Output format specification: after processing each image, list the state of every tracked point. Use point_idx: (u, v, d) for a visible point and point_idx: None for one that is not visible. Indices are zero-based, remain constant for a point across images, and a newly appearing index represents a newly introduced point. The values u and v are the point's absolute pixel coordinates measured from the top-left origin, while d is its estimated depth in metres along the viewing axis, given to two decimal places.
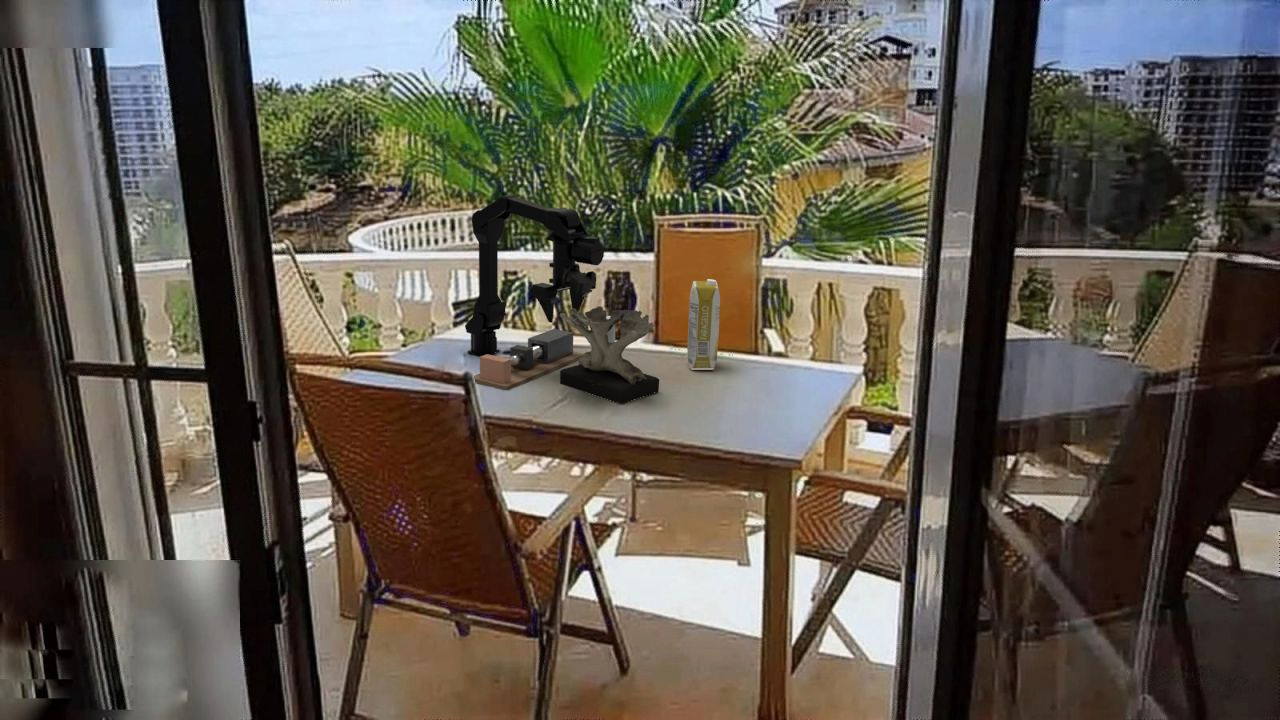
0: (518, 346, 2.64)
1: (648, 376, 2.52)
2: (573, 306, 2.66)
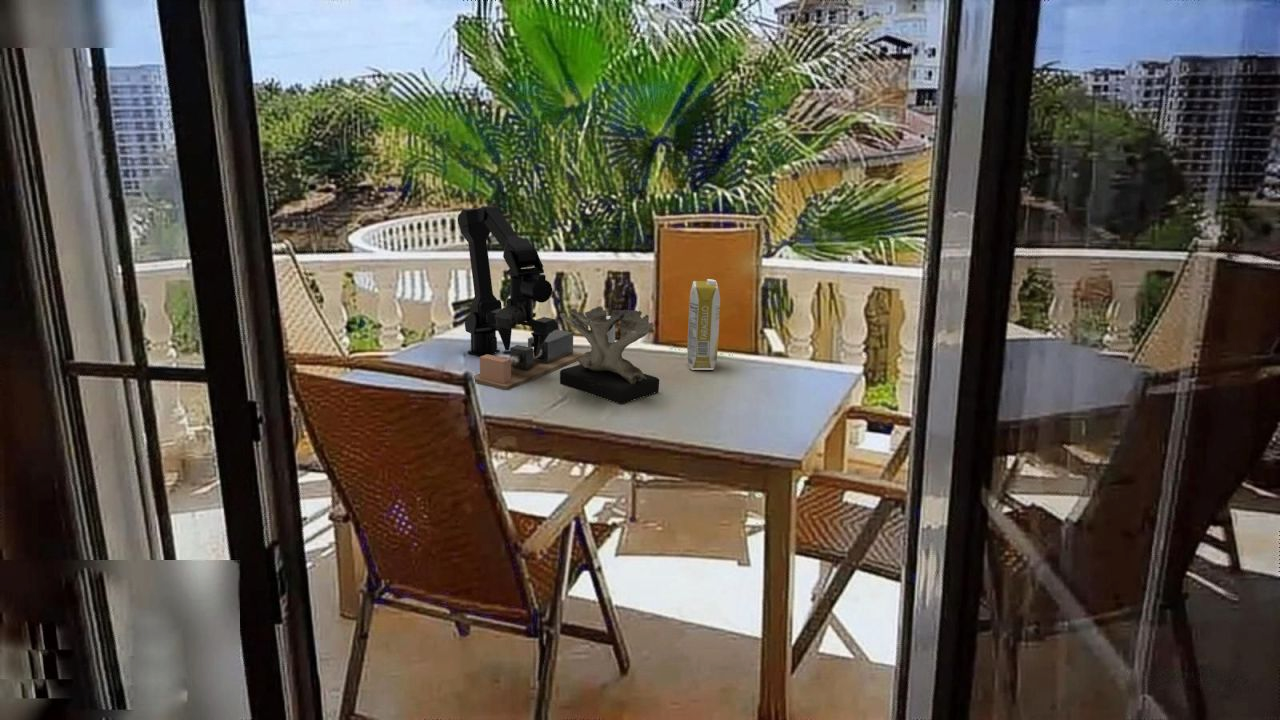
0: (518, 346, 2.64)
1: (648, 376, 2.52)
2: None
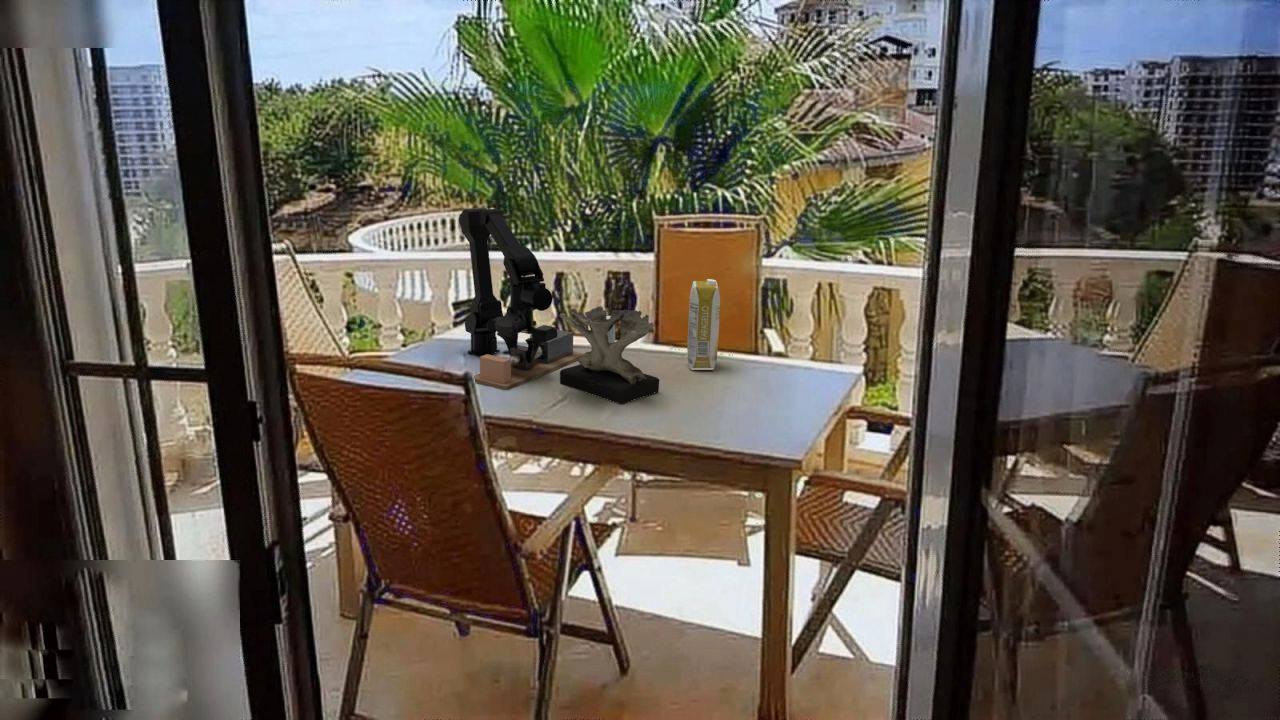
0: (518, 346, 2.64)
1: (648, 376, 2.52)
2: None
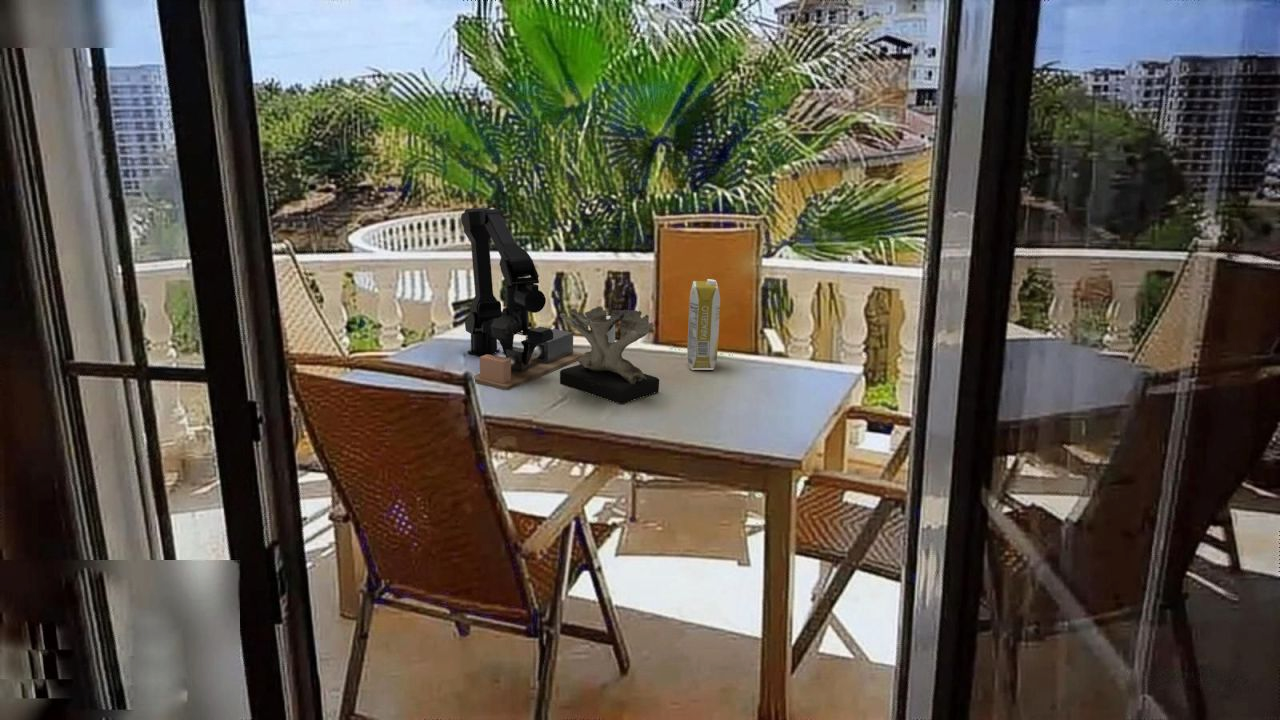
0: (514, 348, 2.63)
1: (648, 376, 2.52)
2: None
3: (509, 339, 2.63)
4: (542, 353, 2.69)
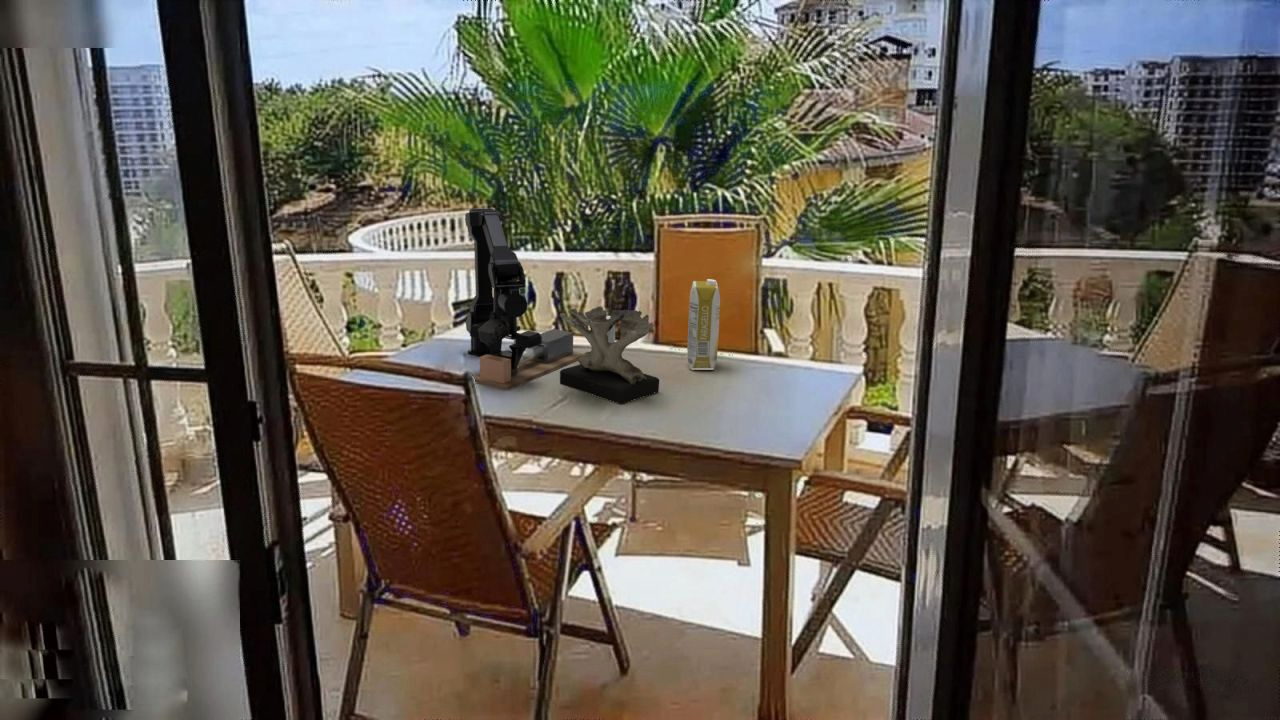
0: (502, 352, 2.59)
1: (648, 376, 2.52)
2: None
3: (497, 343, 2.59)
4: (531, 357, 2.65)
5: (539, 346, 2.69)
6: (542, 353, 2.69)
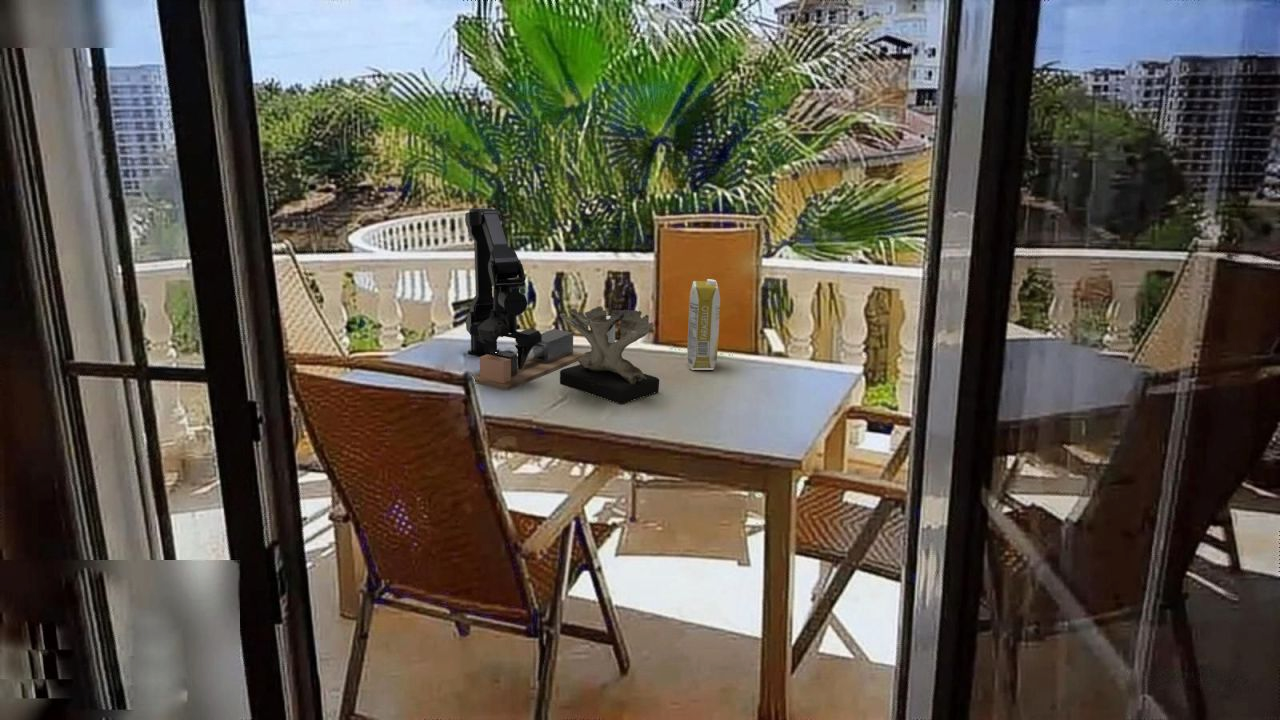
0: (502, 352, 2.58)
1: (648, 376, 2.52)
2: None
3: None
4: (531, 357, 2.65)
5: (539, 346, 2.69)
6: (542, 353, 2.69)
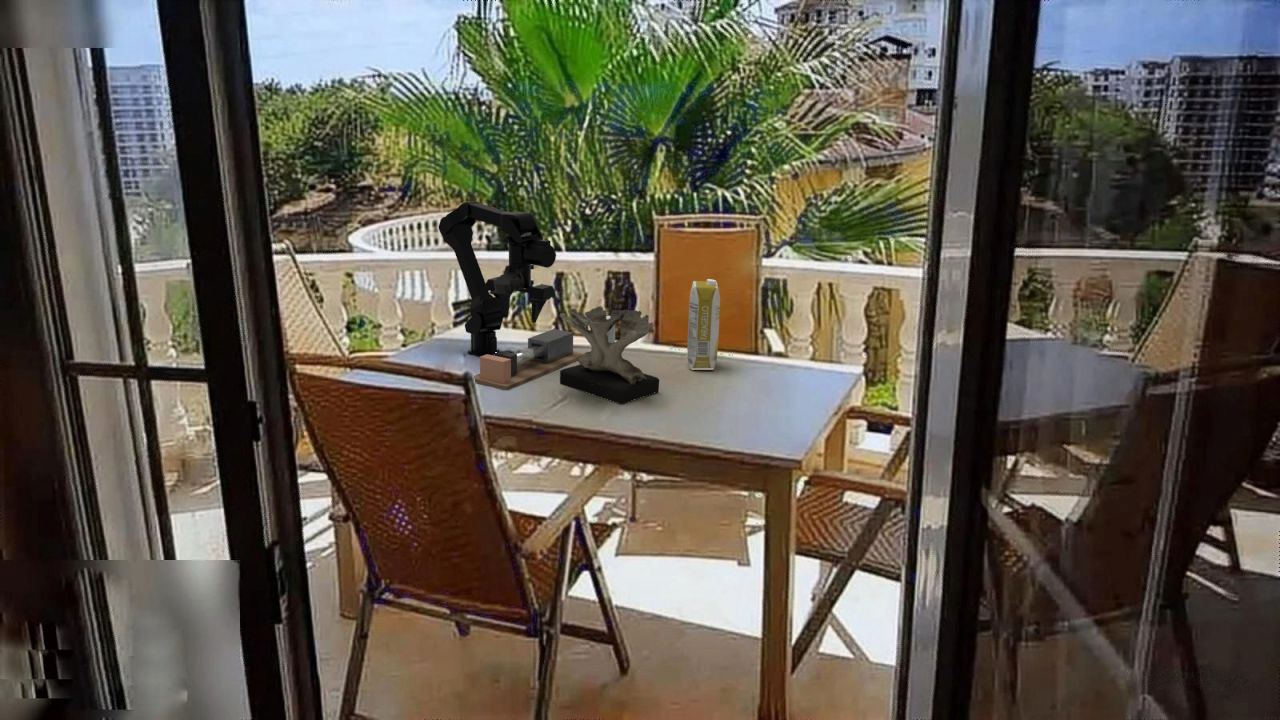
0: (502, 352, 2.58)
1: (648, 376, 2.52)
2: None
3: (506, 296, 2.70)
4: (531, 357, 2.65)
5: (539, 346, 2.69)
6: (542, 353, 2.69)
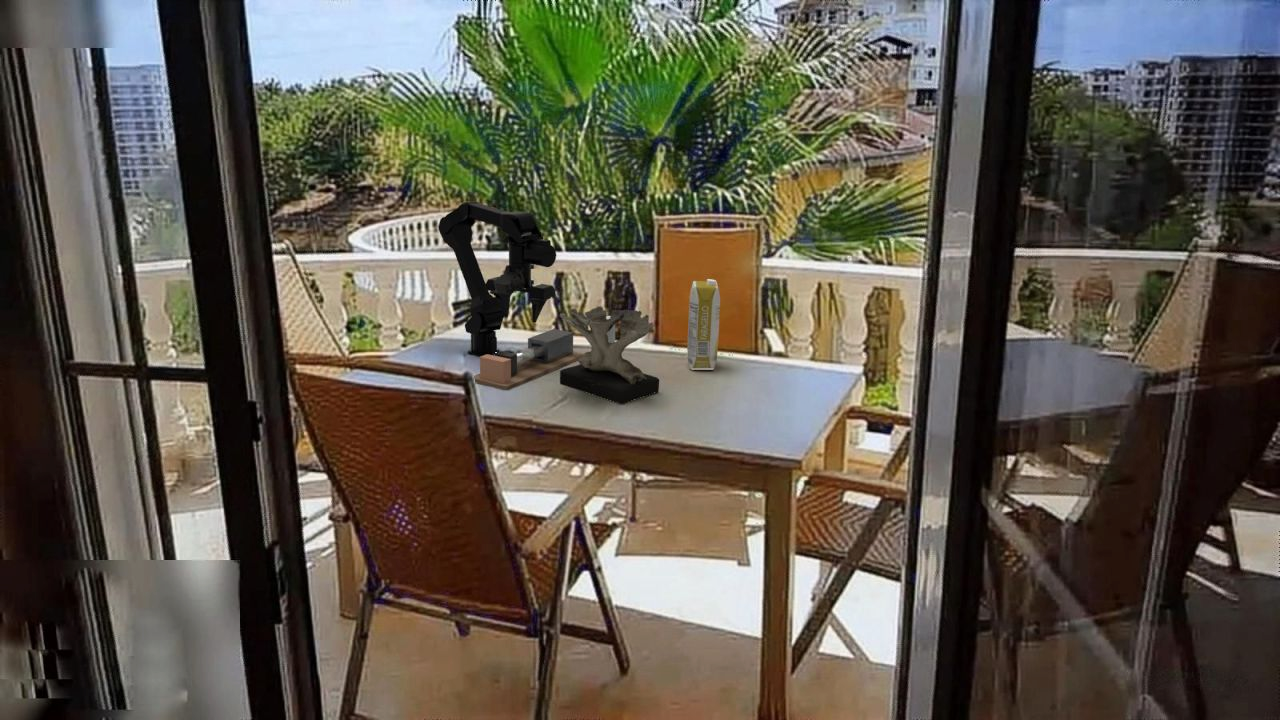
0: (502, 352, 2.58)
1: (648, 376, 2.52)
2: None
3: (506, 296, 2.70)
4: (531, 357, 2.65)
5: (539, 346, 2.69)
6: (542, 353, 2.69)
